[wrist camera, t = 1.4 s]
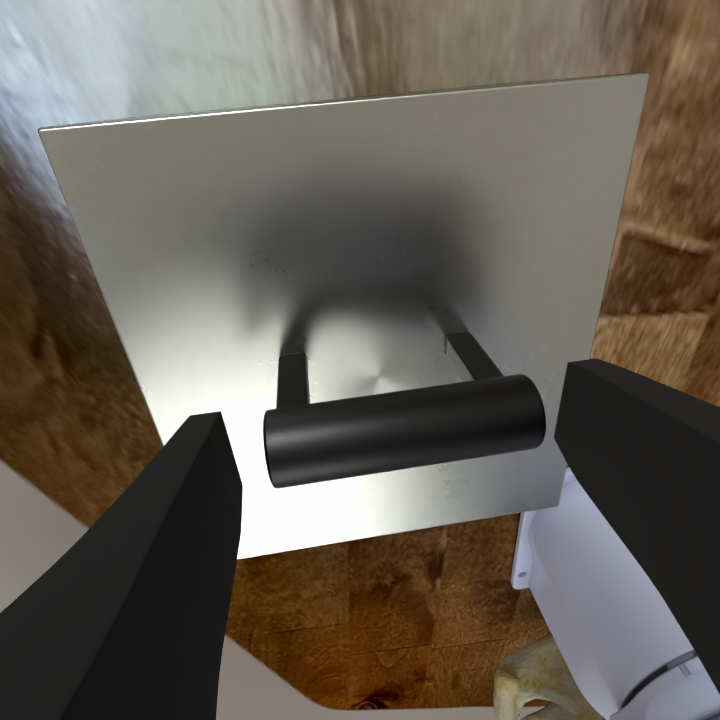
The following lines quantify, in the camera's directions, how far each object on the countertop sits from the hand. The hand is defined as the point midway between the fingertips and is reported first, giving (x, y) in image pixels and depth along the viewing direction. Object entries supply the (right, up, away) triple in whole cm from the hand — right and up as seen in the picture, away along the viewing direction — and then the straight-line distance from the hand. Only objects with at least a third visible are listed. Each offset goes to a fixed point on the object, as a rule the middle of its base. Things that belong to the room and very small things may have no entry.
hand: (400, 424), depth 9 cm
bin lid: (0, +1, +4) cm, 4 cm away
